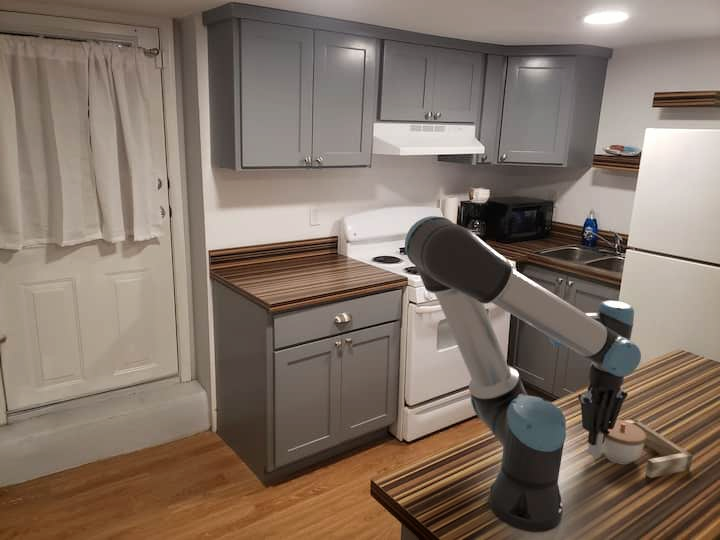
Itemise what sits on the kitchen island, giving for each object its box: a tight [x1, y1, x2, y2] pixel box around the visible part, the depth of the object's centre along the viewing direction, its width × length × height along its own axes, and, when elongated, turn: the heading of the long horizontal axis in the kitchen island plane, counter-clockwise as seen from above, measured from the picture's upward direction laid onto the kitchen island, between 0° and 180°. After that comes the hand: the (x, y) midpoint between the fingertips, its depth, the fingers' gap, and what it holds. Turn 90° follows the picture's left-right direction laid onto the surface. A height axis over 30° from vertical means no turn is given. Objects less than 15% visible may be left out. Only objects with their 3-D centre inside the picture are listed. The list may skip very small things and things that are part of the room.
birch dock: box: [625, 418, 693, 479], centre depth 143 cm, size 12×18×4 cm
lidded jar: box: [601, 419, 646, 465], centre depth 140 cm, size 11×11×9 cm
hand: (593, 455), depth 138 cm, fingers closed
